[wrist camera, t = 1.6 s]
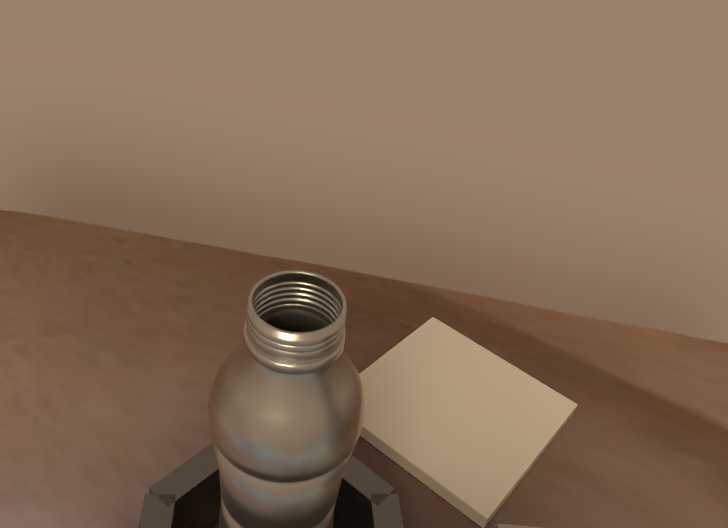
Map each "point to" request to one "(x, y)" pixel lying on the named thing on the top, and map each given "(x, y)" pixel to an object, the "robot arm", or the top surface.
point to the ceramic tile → (459, 417)
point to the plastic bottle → (286, 406)
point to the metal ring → (203, 497)
